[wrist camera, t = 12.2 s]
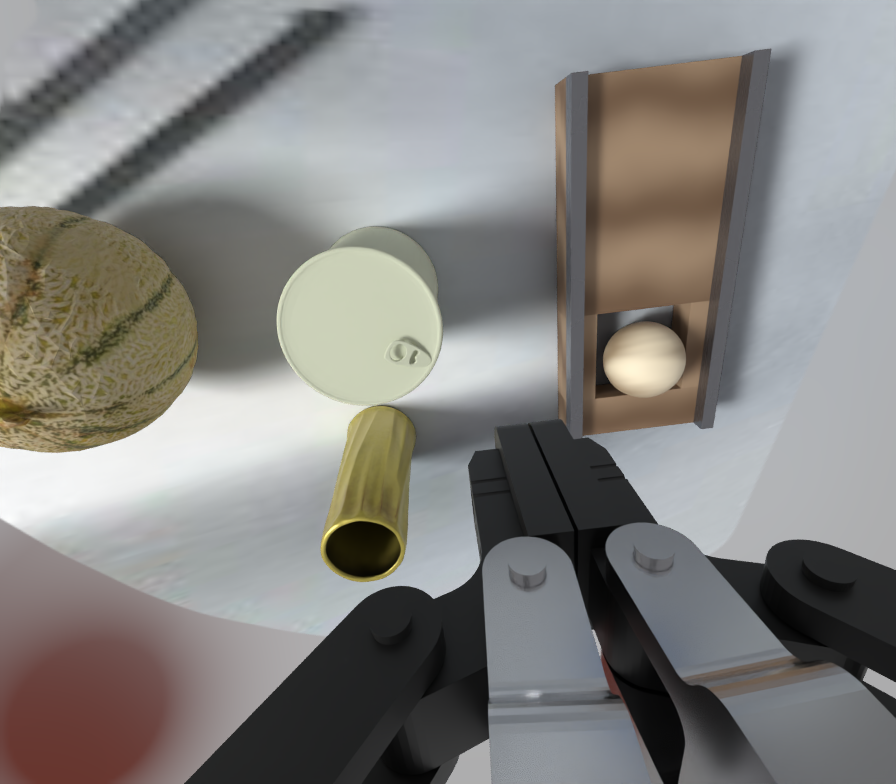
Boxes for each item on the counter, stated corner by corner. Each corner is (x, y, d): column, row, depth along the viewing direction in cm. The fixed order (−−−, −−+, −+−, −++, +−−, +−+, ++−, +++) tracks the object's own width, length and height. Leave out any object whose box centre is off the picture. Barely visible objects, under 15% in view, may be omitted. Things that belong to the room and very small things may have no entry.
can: (409, 362, 38) (404, 432, 27) (303, 317, 36) (251, 374, 25) (457, 259, 35) (473, 293, 24) (343, 204, 33) (303, 213, 22)
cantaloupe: (69, 155, 31) (-213, 130, 17) (265, 286, 35) (165, 351, 21) (0, 324, 35) (-268, 412, 22) (182, 423, 39) (54, 549, 26)
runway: (555, 85, 30) (571, 73, 27) (732, 63, 30) (771, 48, 27) (558, 423, 41) (570, 444, 38) (689, 407, 41) (713, 427, 38)
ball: (597, 400, 39) (587, 330, 39) (665, 389, 39) (656, 320, 39) (627, 406, 33) (616, 324, 33) (707, 393, 33) (697, 311, 33)
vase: (423, 414, 40) (424, 523, 27) (406, 470, 43) (398, 595, 30) (355, 397, 39) (322, 502, 26) (341, 455, 42) (304, 578, 29)
